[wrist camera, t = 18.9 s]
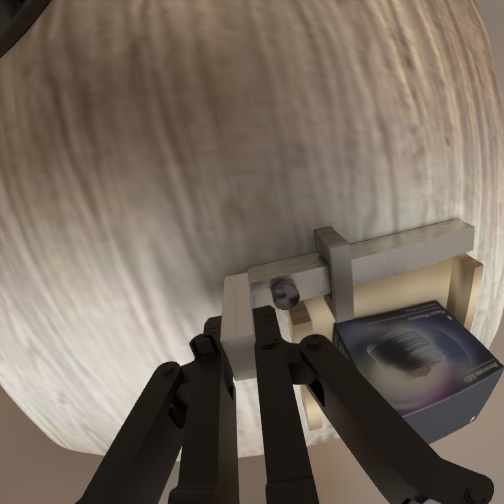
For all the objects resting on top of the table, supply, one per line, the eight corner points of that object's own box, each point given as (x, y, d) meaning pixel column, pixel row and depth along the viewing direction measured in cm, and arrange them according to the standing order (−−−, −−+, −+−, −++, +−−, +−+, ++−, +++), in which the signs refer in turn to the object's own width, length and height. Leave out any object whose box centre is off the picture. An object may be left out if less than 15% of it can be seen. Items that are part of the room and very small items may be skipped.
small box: (438, 294, 21) (510, 363, 11) (424, 349, 23) (476, 420, 13) (331, 318, 21) (384, 425, 11) (328, 375, 23) (362, 472, 13)
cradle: (273, 239, 19) (281, 259, 15) (460, 199, 18) (489, 209, 15) (303, 404, 25) (309, 431, 22) (440, 356, 25) (456, 375, 21)
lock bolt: (247, 267, 19) (249, 291, 16) (456, 218, 19) (482, 230, 16) (253, 292, 20) (256, 319, 17) (455, 240, 20) (480, 254, 16)
